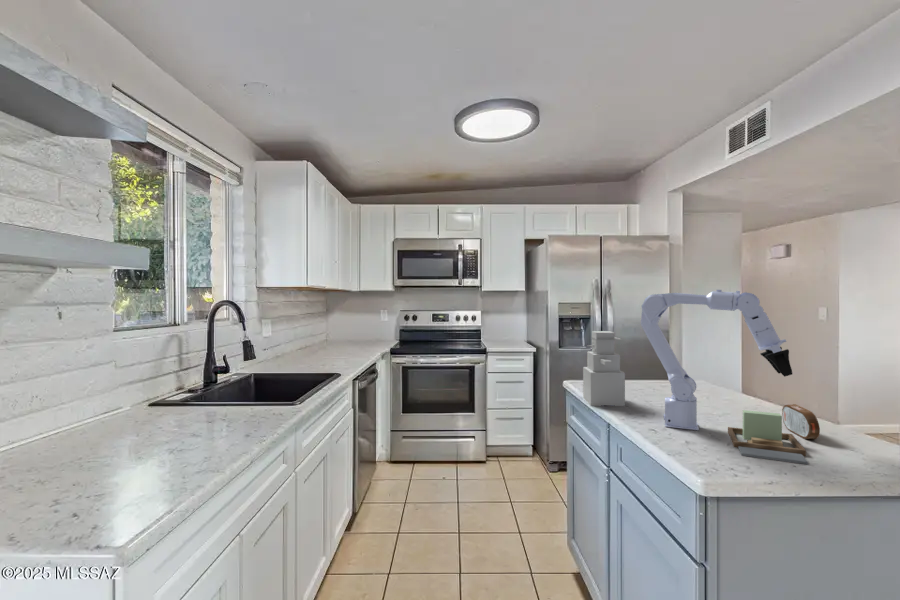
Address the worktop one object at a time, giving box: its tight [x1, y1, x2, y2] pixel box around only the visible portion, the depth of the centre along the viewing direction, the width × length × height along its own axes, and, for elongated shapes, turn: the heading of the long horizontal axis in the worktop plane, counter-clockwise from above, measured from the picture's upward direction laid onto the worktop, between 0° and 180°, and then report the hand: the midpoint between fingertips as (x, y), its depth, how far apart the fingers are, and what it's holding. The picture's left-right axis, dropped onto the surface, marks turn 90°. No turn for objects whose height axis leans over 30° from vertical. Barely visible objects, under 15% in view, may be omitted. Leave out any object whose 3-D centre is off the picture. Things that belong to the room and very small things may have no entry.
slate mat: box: [737, 446, 809, 465], centre depth 116 cm, size 14×6×1 cm, turn 63°
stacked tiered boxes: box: [582, 330, 626, 407], centre depth 175 cm, size 13×24×28 cm, turn 175°
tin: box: [781, 403, 821, 440], centre depth 132 cm, size 15×3×8 cm, turn 168°
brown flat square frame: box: [727, 426, 807, 457], centre depth 125 cm, size 16×15×2 cm
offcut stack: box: [746, 437, 784, 447], centre depth 123 cm, size 8×2×2 cm, turn 63°
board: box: [742, 409, 783, 442], centre depth 128 cm, size 9×3×8 cm, turn 63°
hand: (785, 373), depth 127 cm, fingers open, 7 cm apart
